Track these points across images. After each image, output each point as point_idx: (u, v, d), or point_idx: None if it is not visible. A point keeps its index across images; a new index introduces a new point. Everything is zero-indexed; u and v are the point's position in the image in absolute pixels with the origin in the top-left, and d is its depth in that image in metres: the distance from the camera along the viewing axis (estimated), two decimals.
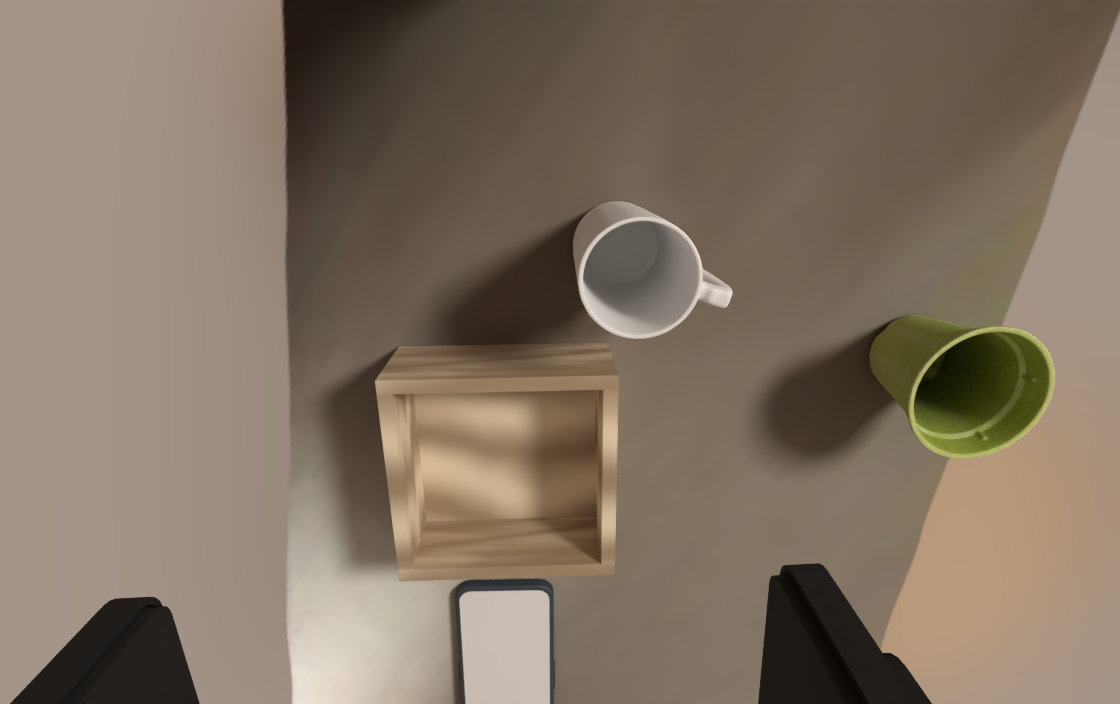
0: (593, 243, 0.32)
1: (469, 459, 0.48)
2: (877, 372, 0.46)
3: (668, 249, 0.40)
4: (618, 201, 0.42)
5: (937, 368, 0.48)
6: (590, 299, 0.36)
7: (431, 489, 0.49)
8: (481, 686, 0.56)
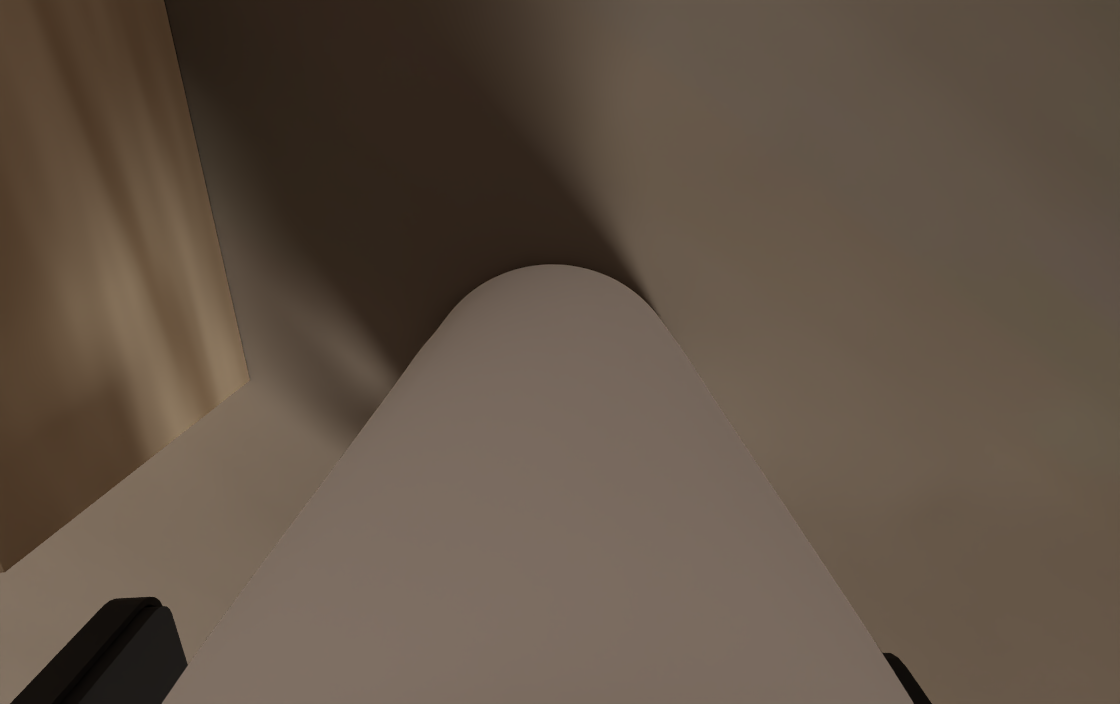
0: None
1: None
2: None
3: None
4: None
5: None
6: None
7: None
8: None
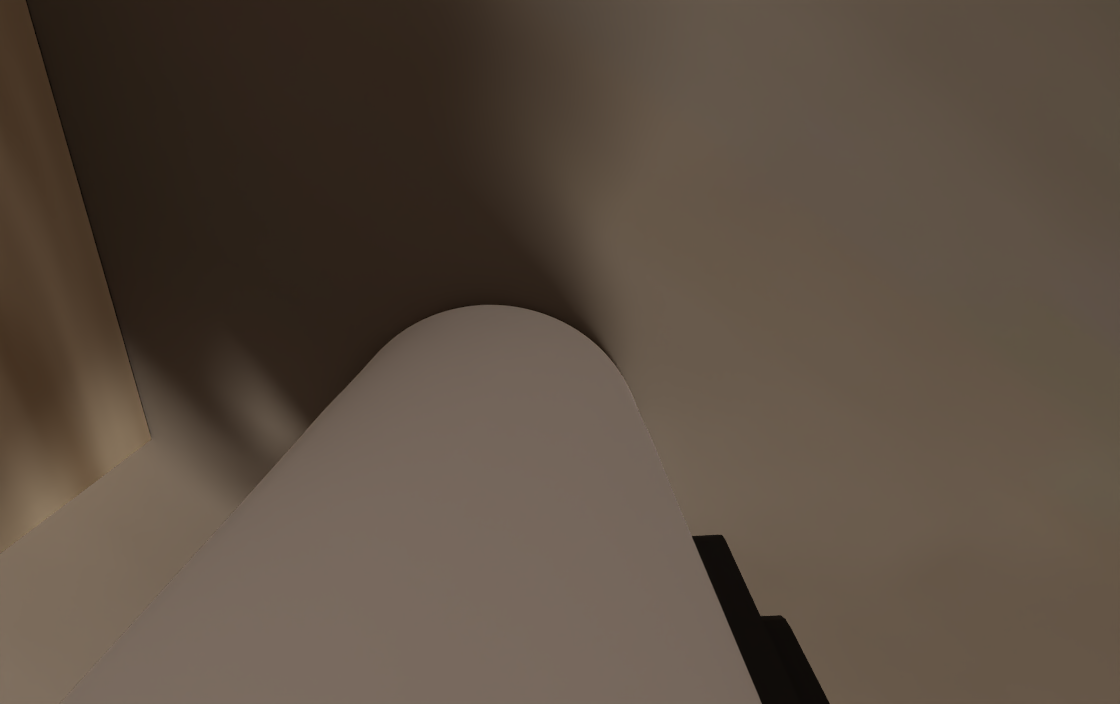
0: None
1: None
2: None
3: None
4: None
5: None
6: None
7: None
8: None
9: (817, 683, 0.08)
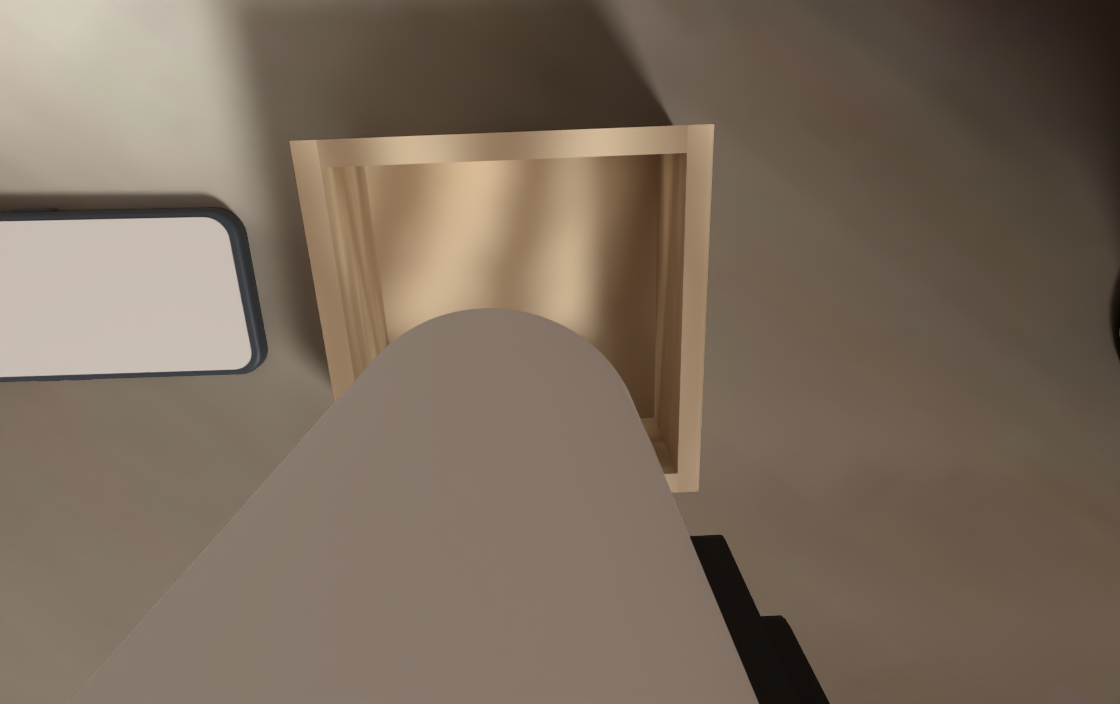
0: None
1: (490, 241, 0.30)
2: None
3: None
4: None
5: None
6: None
7: (429, 175, 0.29)
8: (7, 253, 0.29)
9: (817, 683, 0.08)
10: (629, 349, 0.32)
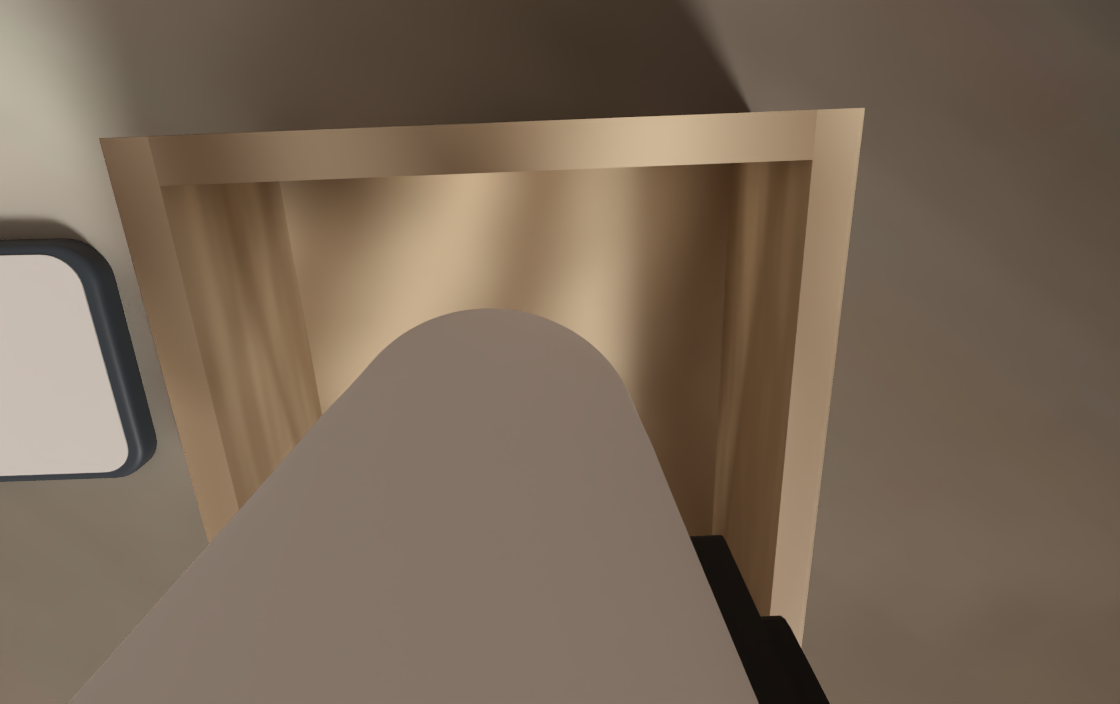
0: None
1: (474, 290, 0.20)
2: None
3: None
4: None
5: None
6: None
7: (378, 191, 0.19)
8: None
9: (817, 683, 0.08)
10: (678, 444, 0.22)
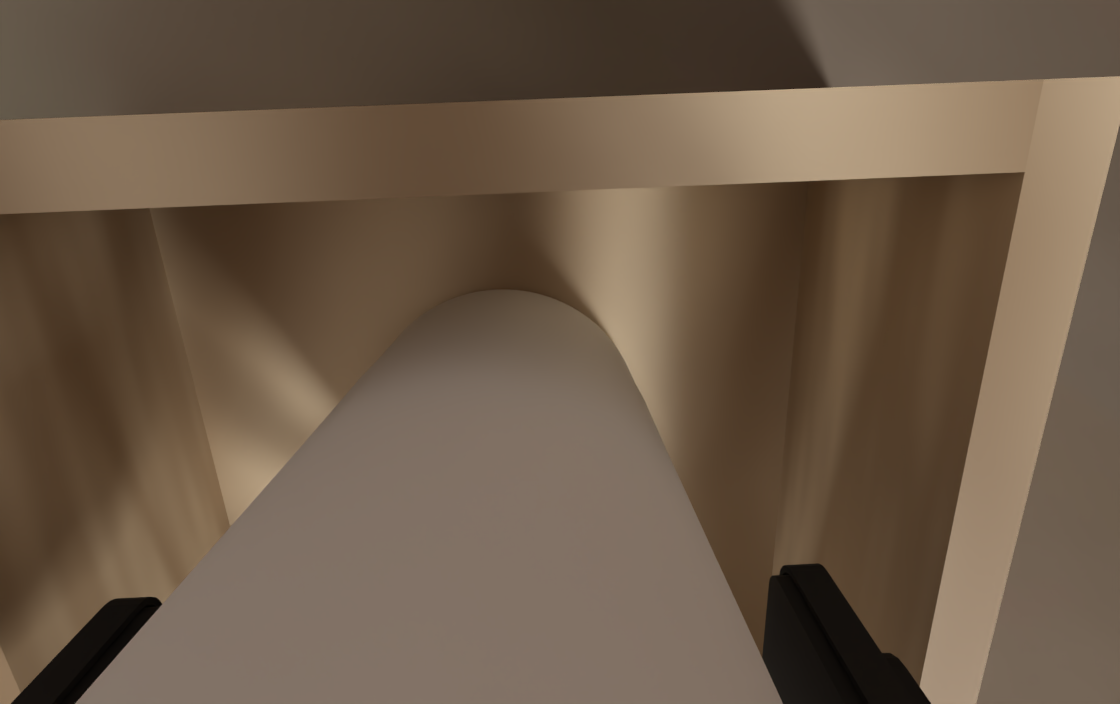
0: None
1: None
2: None
3: None
4: None
5: None
6: None
7: (294, 213, 0.13)
8: None
9: None
10: (722, 555, 0.16)
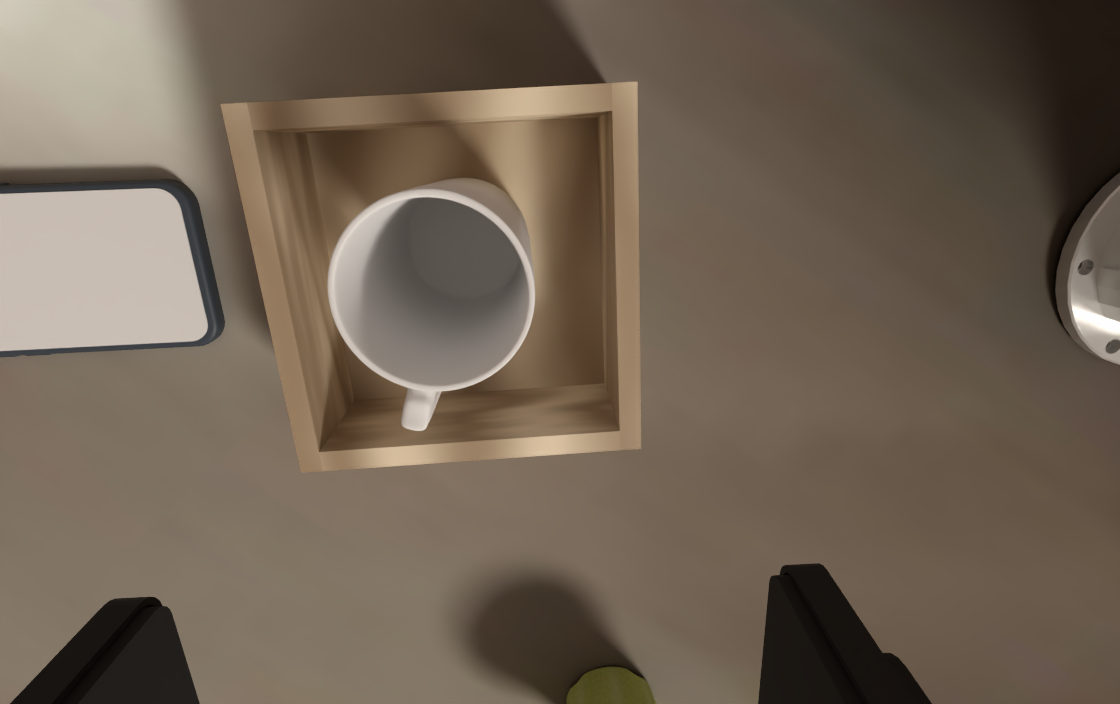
0: (485, 211, 0.19)
1: None
2: (596, 687, 0.40)
3: (473, 319, 0.28)
4: None
5: None
6: (385, 212, 0.22)
7: (371, 144, 0.29)
8: None
9: None
10: (577, 315, 0.33)
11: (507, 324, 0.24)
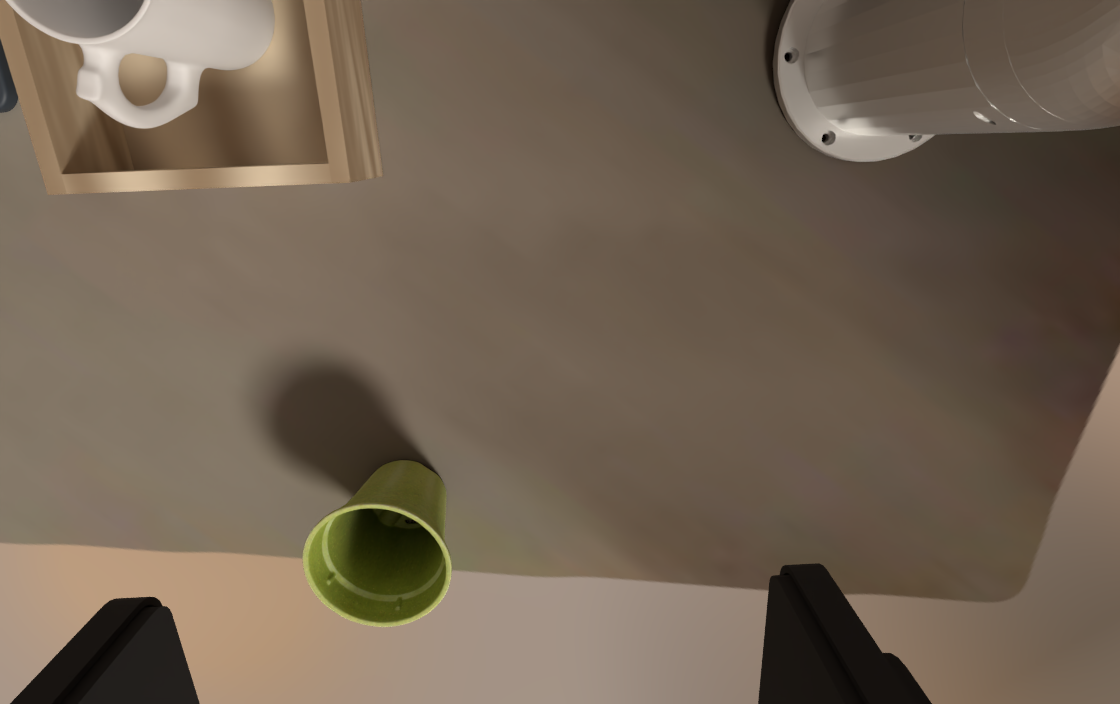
0: None
1: None
2: (383, 470, 0.44)
3: None
4: (271, 9, 0.34)
5: (391, 524, 0.47)
6: None
7: None
8: None
9: None
10: None
11: None
